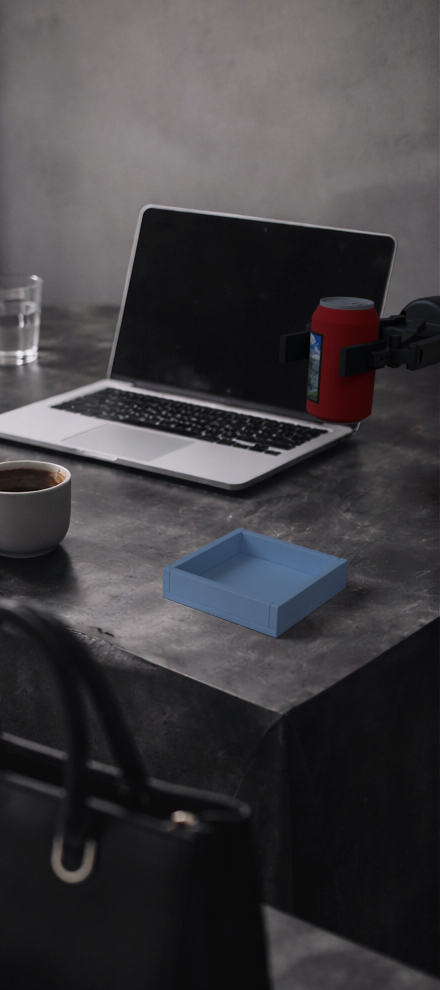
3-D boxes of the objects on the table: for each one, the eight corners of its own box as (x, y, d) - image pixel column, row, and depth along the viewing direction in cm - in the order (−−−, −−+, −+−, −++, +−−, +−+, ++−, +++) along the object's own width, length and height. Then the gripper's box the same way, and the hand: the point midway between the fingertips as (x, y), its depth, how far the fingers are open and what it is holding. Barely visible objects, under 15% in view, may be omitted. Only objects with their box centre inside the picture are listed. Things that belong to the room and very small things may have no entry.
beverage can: (319, 406, 105) (326, 293, 101) (379, 415, 102) (390, 300, 98) (295, 421, 99) (302, 302, 95) (359, 431, 97) (369, 309, 92)
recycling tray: (345, 588, 82) (348, 559, 81) (276, 638, 73) (277, 607, 72) (238, 554, 87) (239, 527, 87) (162, 597, 79) (162, 568, 78)
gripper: (515, 377, 105) (392, 414, 90) (367, 347, 118) (236, 374, 103) (525, 307, 103) (400, 333, 87) (372, 284, 116) (239, 303, 100)
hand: (312, 355), depth 95 cm, fingers closed on beverage can, 7 cm apart
